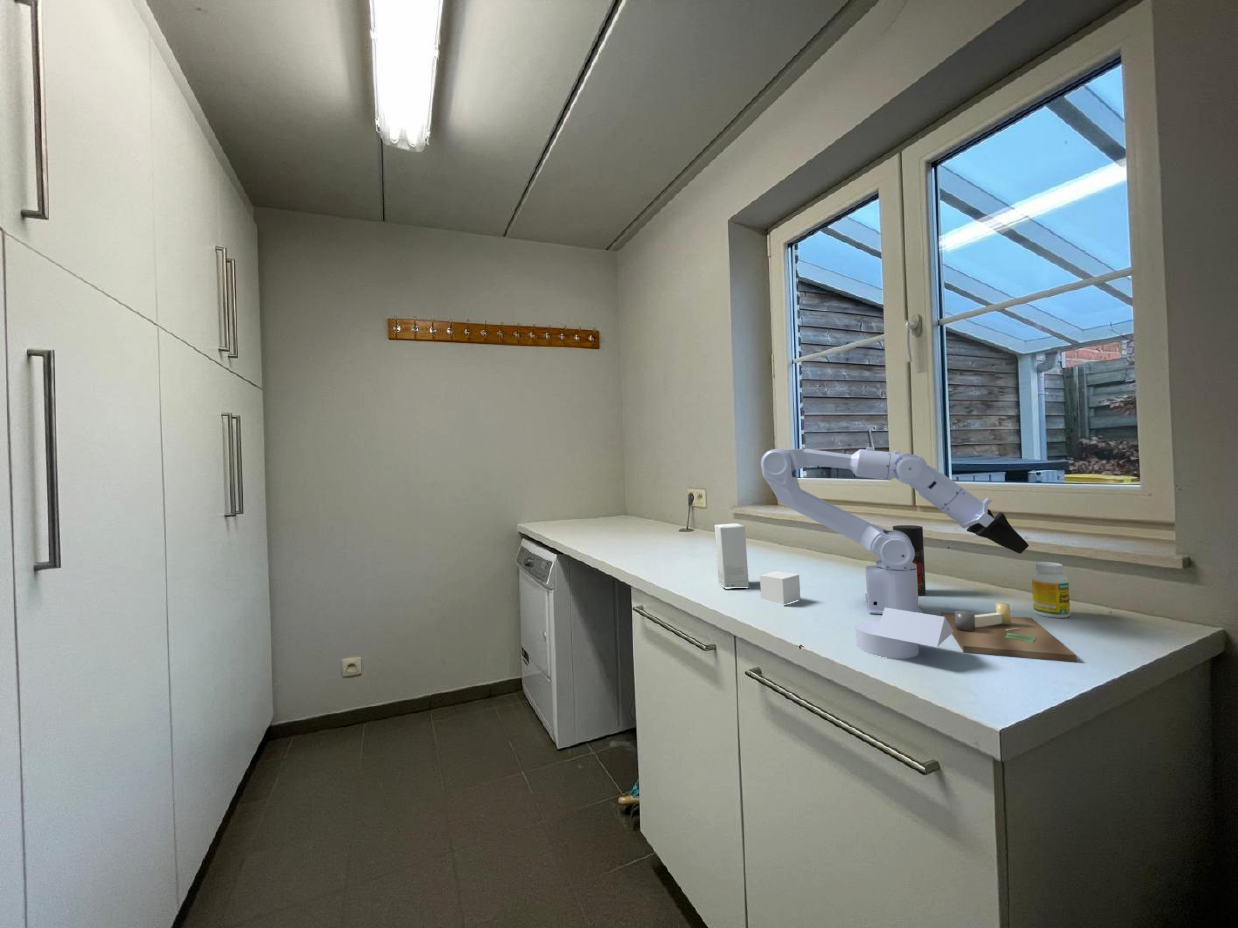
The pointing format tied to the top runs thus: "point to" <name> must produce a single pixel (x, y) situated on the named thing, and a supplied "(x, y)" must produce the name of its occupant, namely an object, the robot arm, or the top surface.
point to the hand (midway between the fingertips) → (1017, 547)
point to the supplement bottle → (1050, 591)
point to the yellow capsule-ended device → (982, 618)
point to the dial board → (1011, 640)
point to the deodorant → (916, 552)
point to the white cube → (780, 587)
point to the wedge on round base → (901, 633)
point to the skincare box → (731, 555)
